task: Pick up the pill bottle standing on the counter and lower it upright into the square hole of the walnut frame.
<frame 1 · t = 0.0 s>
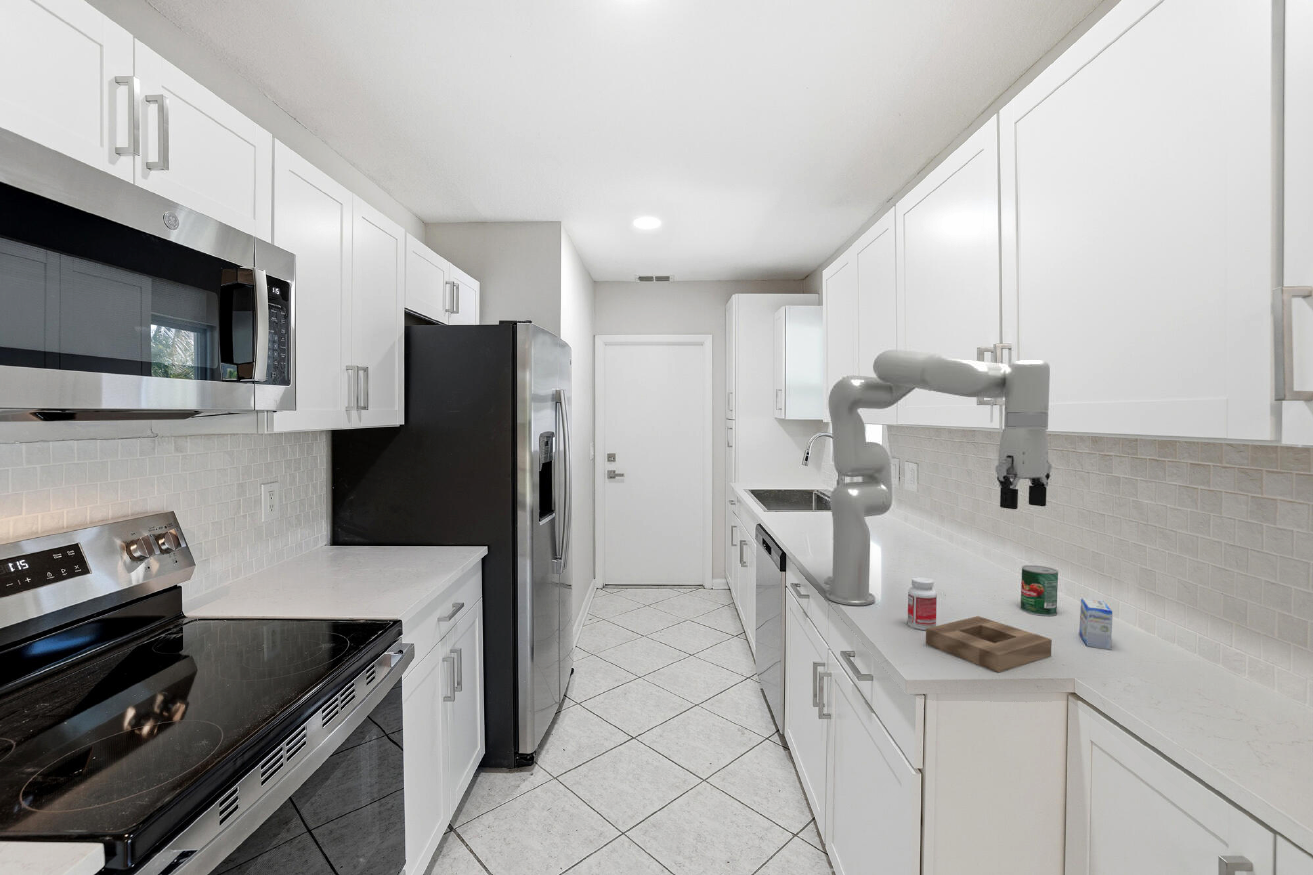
hand: (1023, 506, 119), 31 cm above the counter, tool pointing down, fingers open, 9 cm apart
pill bottle: (921, 627, 139), on the counter
medicine box: (1094, 643, 130), on the counter
walnut frame: (987, 649, 125), on the counter
canned tomato: (1038, 612, 151), on the counter
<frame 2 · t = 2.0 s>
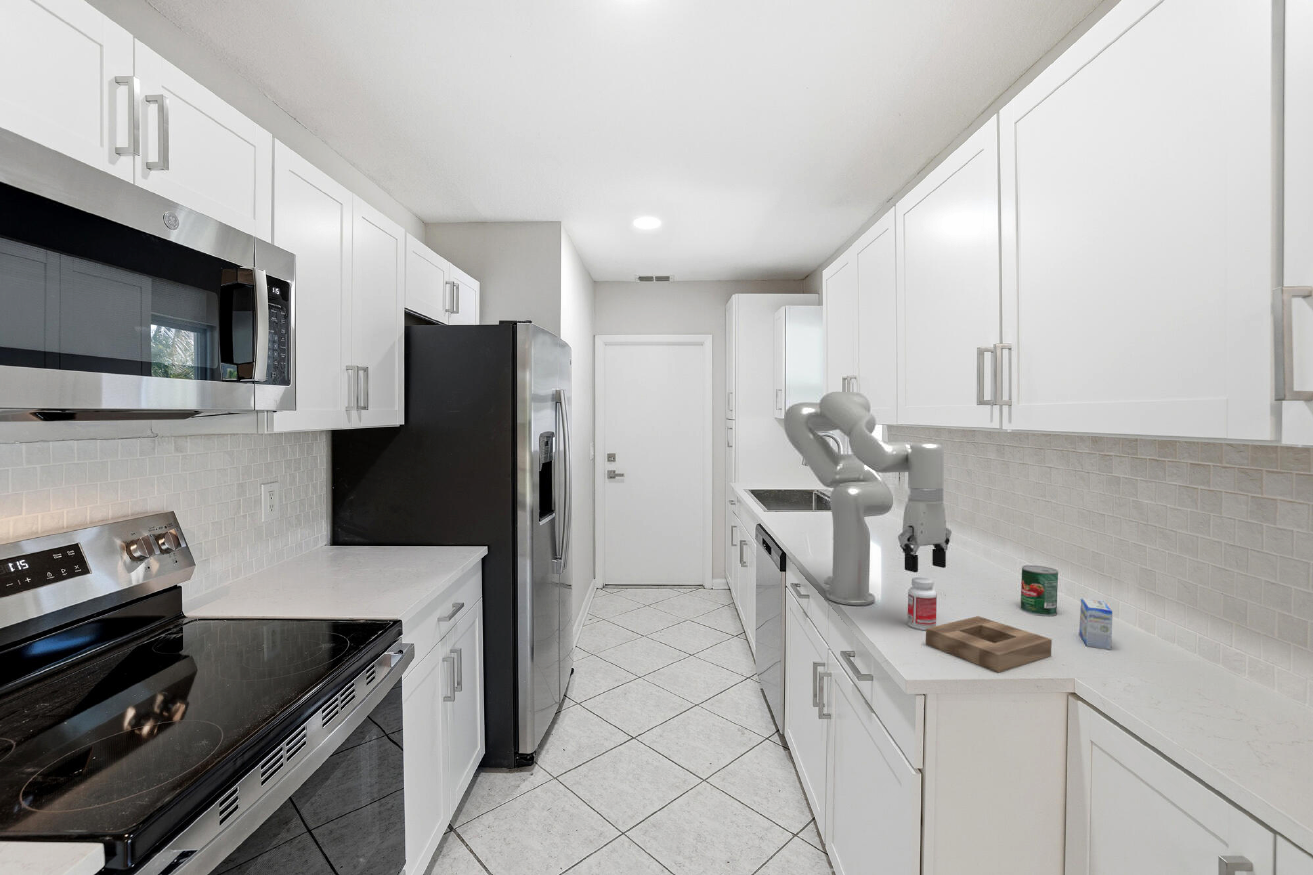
hand: (925, 568, 138), 14 cm above the counter, tool pointing down, fingers open, 9 cm apart
nothing on the counter moved.
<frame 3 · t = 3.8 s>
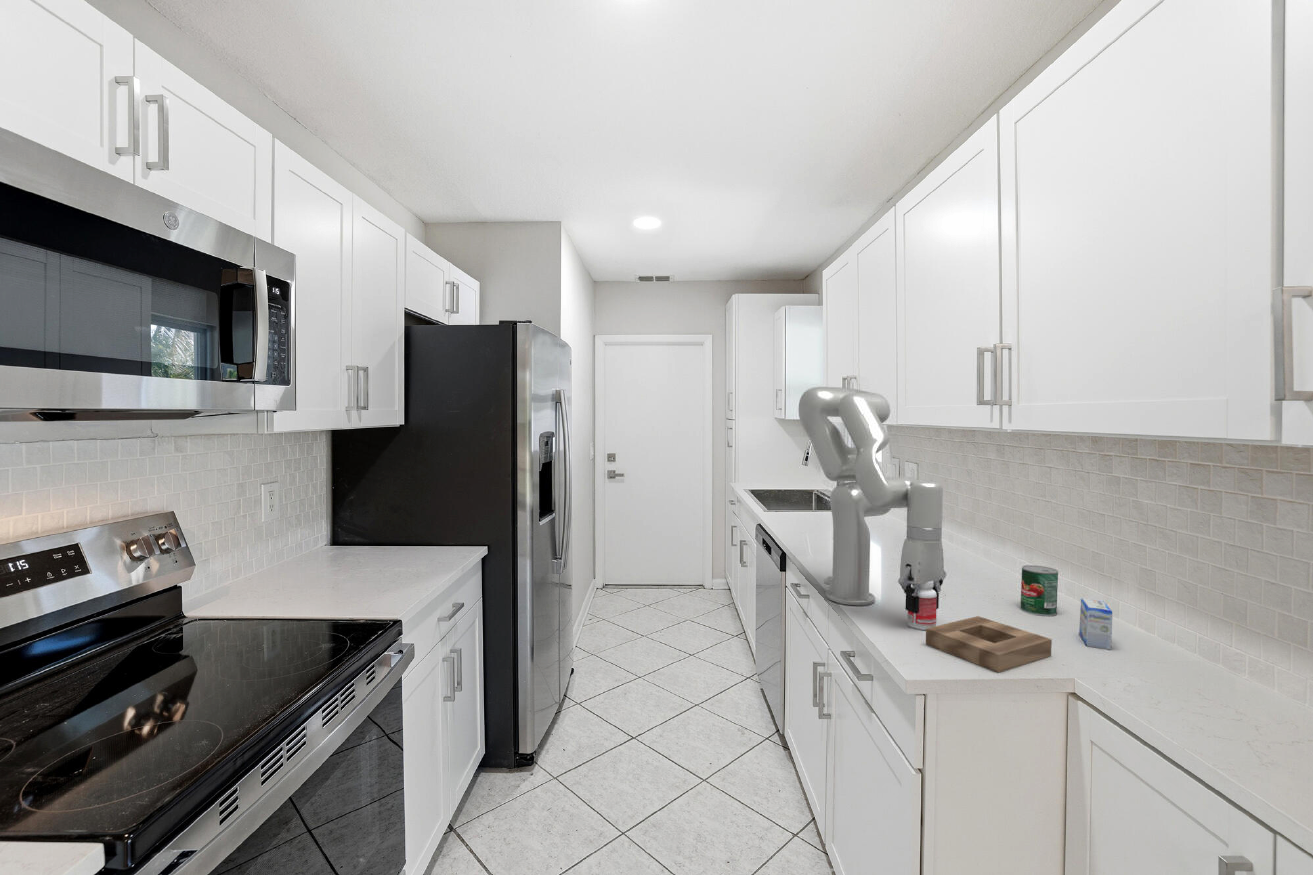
hand: (921, 608, 139), 4 cm above the counter, tool pointing down, fingers closed on pill bottle, 6 cm apart
pill bottle: (921, 627, 139), on the counter, touching gripper
everything else where it was.
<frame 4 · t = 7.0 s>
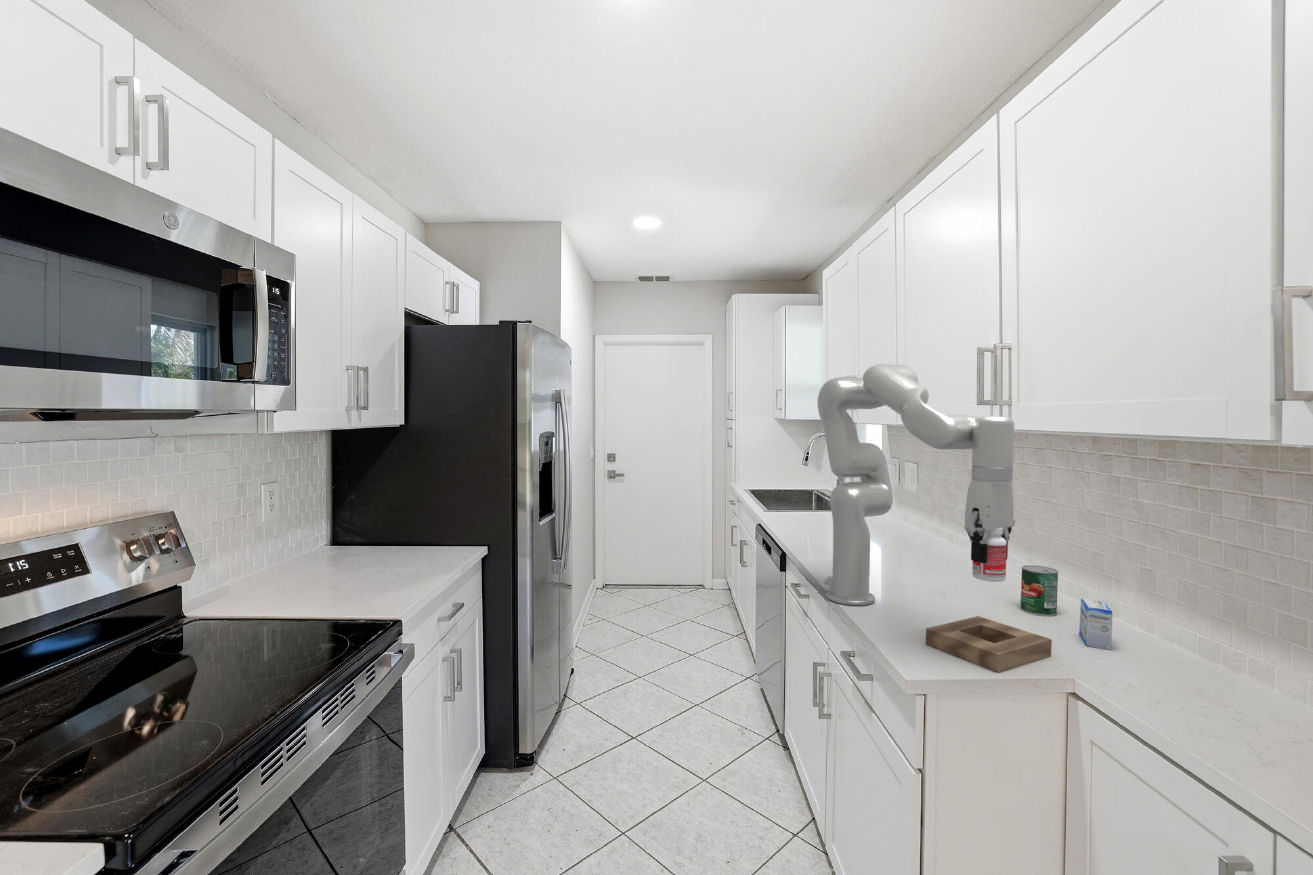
hand: (989, 559, 124), 19 cm above the counter, tool pointing down, fingers closed on pill bottle, 6 cm apart
pill bottle: (988, 579, 125), point 15 cm above the counter, touching gripper
everything else where it was.
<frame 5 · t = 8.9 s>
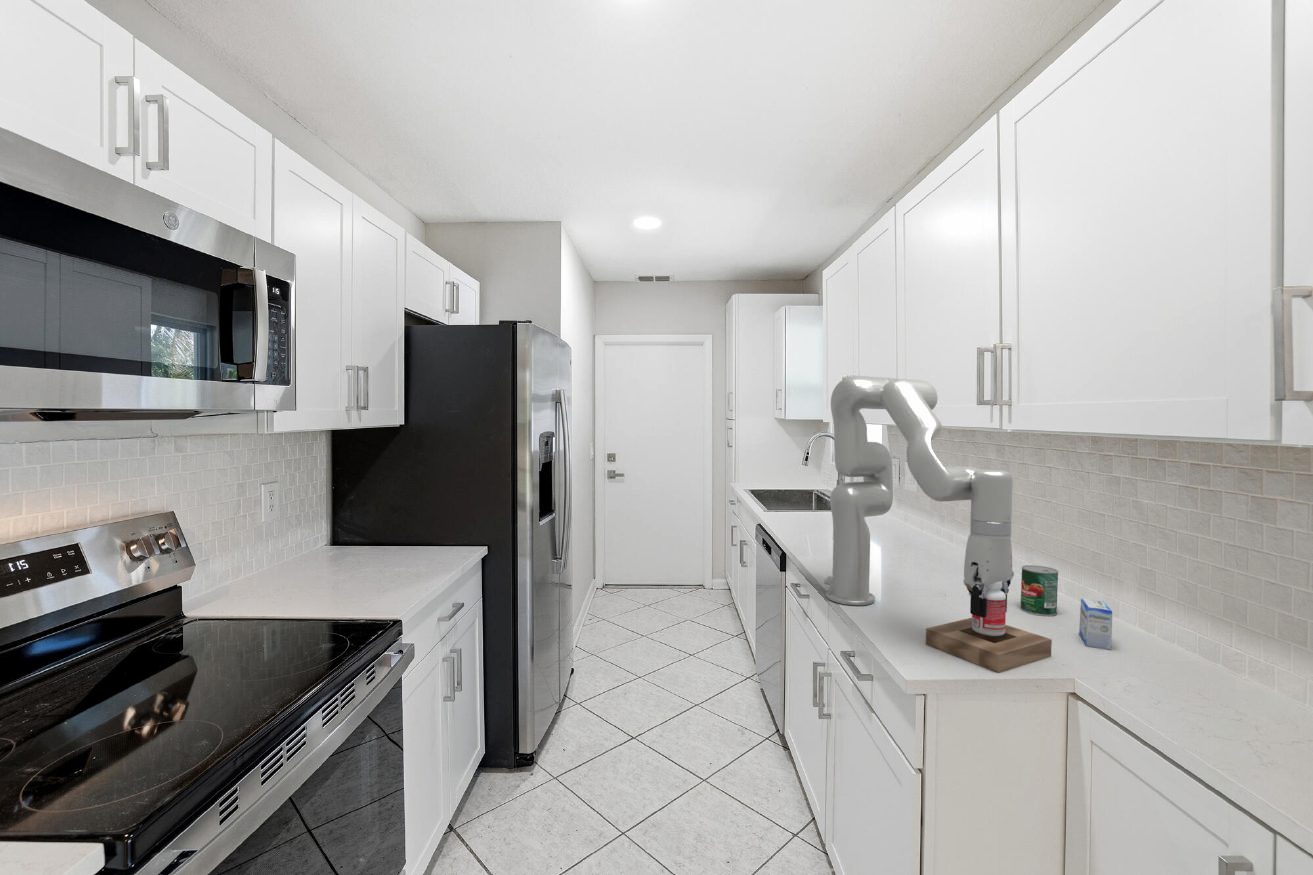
hand: (988, 612, 125), 8 cm above the counter, tool pointing down, fingers closed on pill bottle, 6 cm apart
pill bottle: (988, 632, 125), point 4 cm above the counter, touching gripper
everything else where it was.
when the fingers open (5 cm above the counter, at t = 10.5 s): pill bottle stays where it is, resting in walnut frame.
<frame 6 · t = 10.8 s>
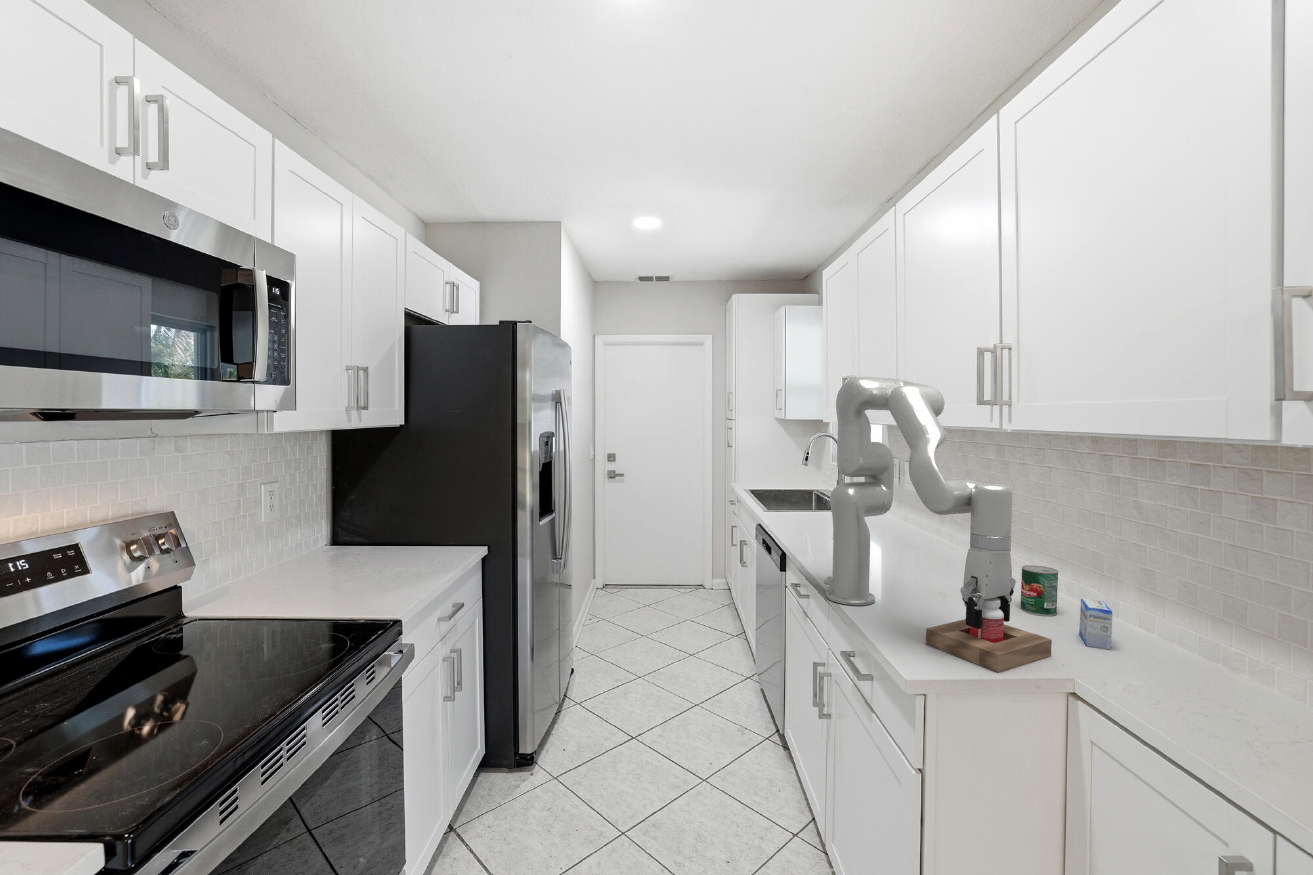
hand: (987, 623, 125), 6 cm above the counter, tool pointing down, fingers open, 9 cm apart
pill bottle: (985, 650, 125), resting in walnut frame
everything else where it was.
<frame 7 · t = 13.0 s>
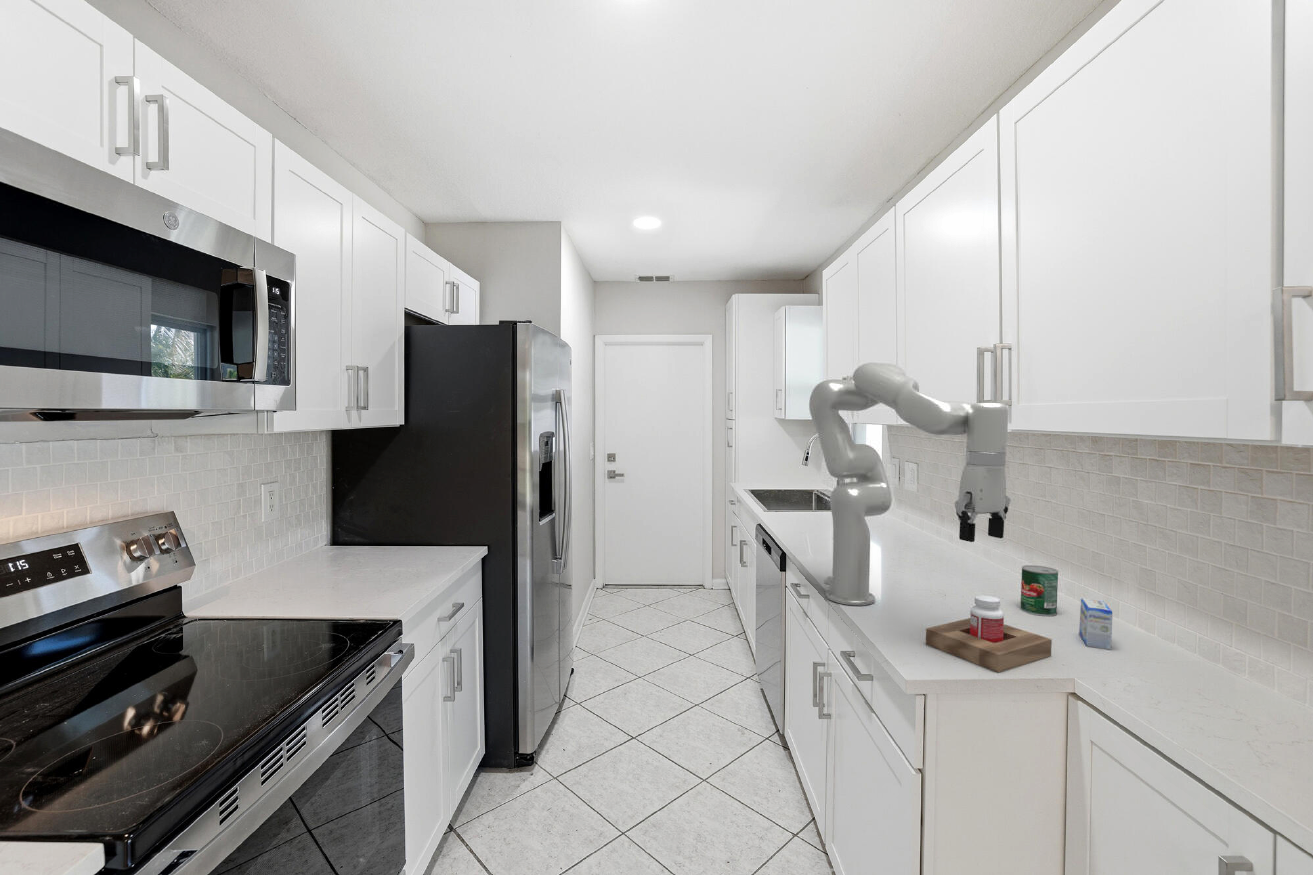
hand: (981, 538, 128), 23 cm above the counter, tool pointing down, fingers open, 9 cm apart
nothing on the counter moved.
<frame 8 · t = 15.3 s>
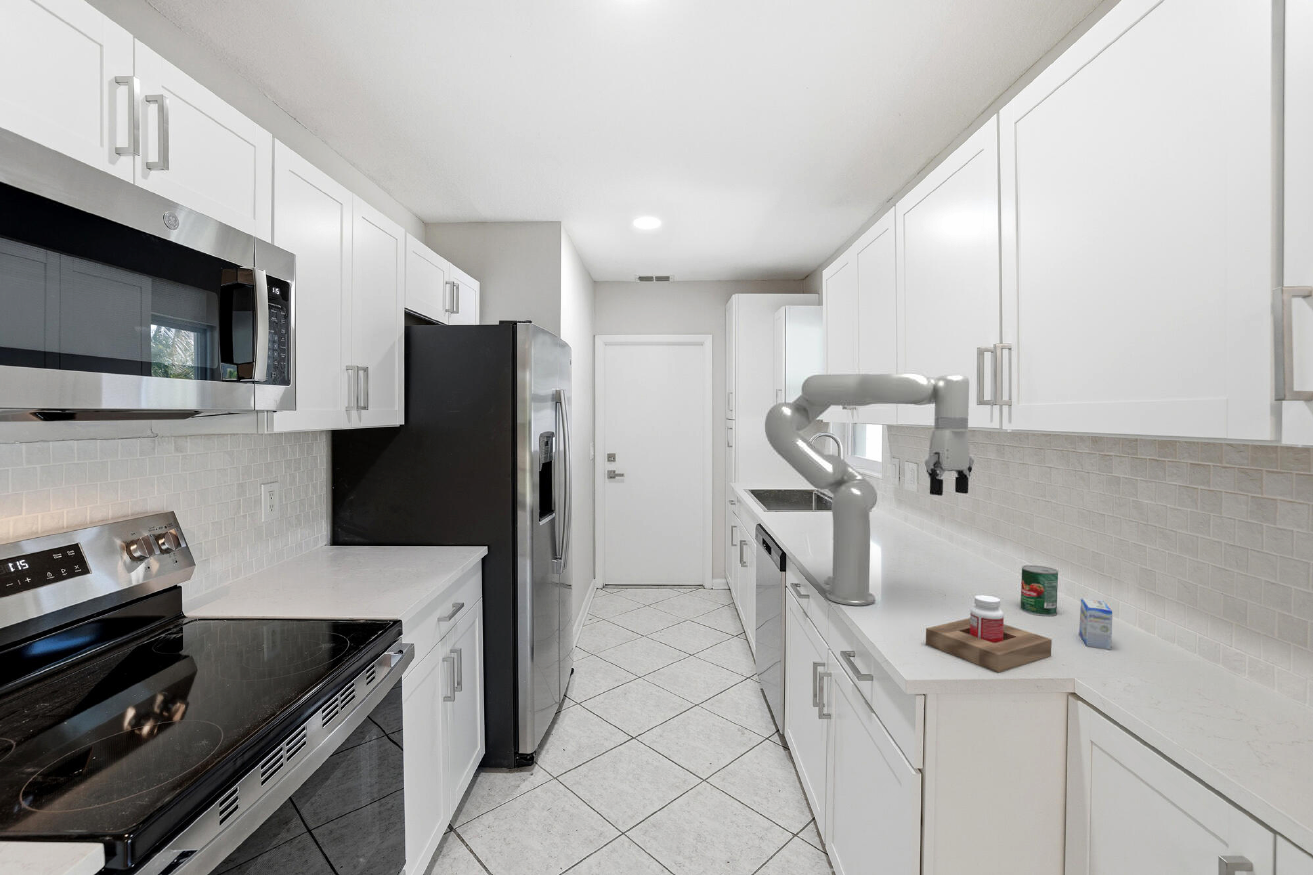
hand: (949, 493, 147), 30 cm above the counter, tool pointing down, fingers open, 9 cm apart
nothing on the counter moved.
at the end: pill bottle 0.2 cm off-centre on the walnut frame, point 0.0 cm above the walnut frame's base; pill bottle tilted 0°; the gripper is holding nothing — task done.
